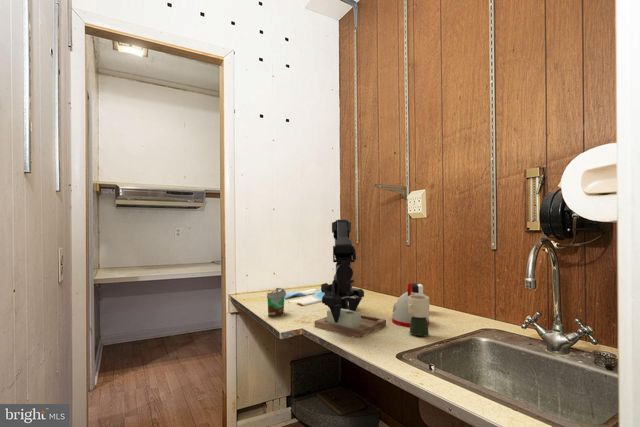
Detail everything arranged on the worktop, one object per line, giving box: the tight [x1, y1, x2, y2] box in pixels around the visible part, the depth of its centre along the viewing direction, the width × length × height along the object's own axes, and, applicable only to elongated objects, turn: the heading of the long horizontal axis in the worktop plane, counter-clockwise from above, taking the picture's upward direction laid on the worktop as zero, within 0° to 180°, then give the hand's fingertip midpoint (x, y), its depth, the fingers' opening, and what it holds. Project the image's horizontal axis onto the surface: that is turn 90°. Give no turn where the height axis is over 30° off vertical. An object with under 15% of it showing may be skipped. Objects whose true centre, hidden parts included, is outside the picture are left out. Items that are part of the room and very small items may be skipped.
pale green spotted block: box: [326, 308, 362, 329], centre depth 125 cm, size 6×11×5 cm, turn 50°
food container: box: [266, 287, 287, 318], centre depth 146 cm, size 12×6×10 cm, turn 168°
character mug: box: [408, 295, 430, 337], centre depth 117 cm, size 11×7×13 cm, turn 127°
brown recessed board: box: [314, 314, 387, 339], centre depth 128 cm, size 18×20×2 cm
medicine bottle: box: [411, 283, 426, 296], centre depth 148 cm, size 7×7×12 cm
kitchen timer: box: [391, 282, 430, 329], centre depth 132 cm, size 14×14×15 cm
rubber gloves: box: [285, 288, 335, 307], centre depth 180 cm, size 27×33×6 cm
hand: (343, 319), depth 125 cm, fingers open, 9 cm apart
